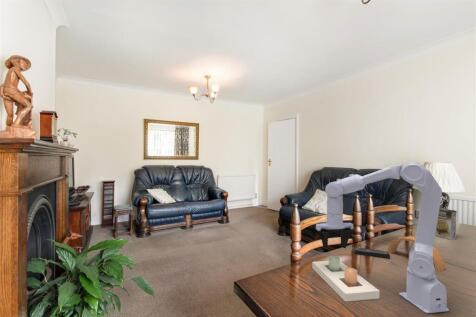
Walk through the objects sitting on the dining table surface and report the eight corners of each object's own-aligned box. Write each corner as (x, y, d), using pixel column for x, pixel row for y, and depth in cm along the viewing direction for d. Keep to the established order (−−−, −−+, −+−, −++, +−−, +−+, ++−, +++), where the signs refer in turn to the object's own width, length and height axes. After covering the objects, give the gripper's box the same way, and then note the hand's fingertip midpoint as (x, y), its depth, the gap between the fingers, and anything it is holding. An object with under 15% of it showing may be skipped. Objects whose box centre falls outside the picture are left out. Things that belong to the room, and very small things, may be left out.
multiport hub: (353, 251, 111) (353, 246, 111) (387, 256, 106) (387, 251, 106) (354, 255, 107) (354, 250, 107) (390, 260, 102) (390, 254, 102)
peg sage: (341, 276, 86) (342, 259, 86) (332, 277, 86) (332, 260, 86) (335, 271, 90) (335, 255, 90) (326, 272, 90) (326, 255, 90)
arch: (437, 272, 91) (438, 247, 91) (387, 253, 109) (387, 232, 109) (445, 269, 93) (446, 245, 93) (395, 251, 111) (395, 230, 111)
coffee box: (431, 235, 135) (431, 208, 135) (437, 233, 137) (437, 207, 137) (450, 240, 126) (451, 211, 126) (456, 238, 129) (456, 210, 129)
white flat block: (379, 298, 73) (379, 290, 73) (345, 301, 71) (345, 293, 71) (339, 266, 95) (339, 260, 95) (312, 267, 93) (312, 261, 93)
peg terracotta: (359, 290, 77) (360, 271, 78) (351, 292, 76) (351, 273, 76) (349, 284, 81) (350, 266, 81) (341, 286, 79) (342, 268, 80)
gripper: (345, 209, 93) (345, 242, 93) (312, 210, 91) (311, 244, 91) (357, 214, 86) (356, 249, 86) (321, 215, 84) (320, 251, 84)
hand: (334, 247), depth 88 cm, fingers open, 7 cm apart
